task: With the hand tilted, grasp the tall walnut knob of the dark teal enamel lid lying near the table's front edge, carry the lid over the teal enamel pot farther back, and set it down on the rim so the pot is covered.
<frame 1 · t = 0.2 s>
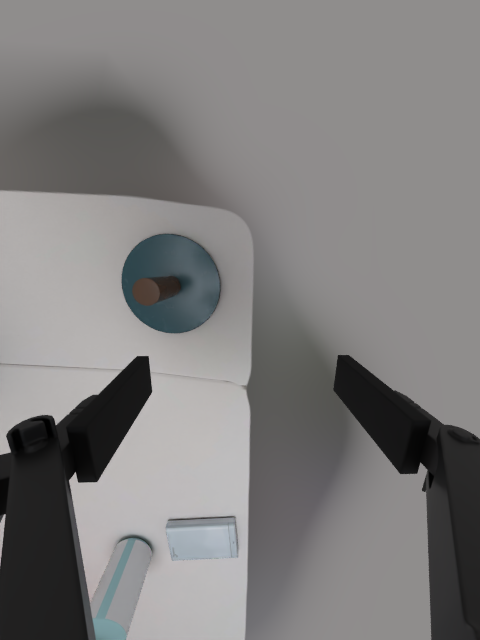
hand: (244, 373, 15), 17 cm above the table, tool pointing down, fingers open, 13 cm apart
can: (135, 547, 43), on the table
lid: (171, 285, 30), point 1 cm above the table
hard drive: (204, 532, 42), on the table
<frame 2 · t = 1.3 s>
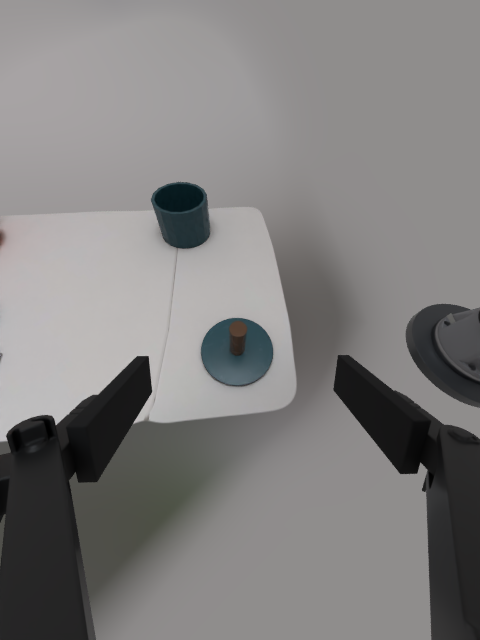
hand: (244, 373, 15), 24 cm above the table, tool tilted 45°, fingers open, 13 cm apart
lid: (237, 349, 41), point 1 cm above the table
pot: (186, 232, 59), on the table
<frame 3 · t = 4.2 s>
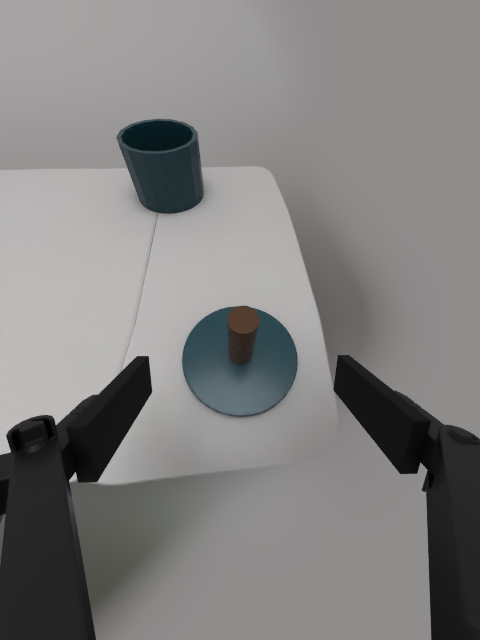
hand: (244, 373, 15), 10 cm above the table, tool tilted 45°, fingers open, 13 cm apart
lid: (240, 355, 26), point 1 cm above the table
pot: (171, 193, 43), on the table
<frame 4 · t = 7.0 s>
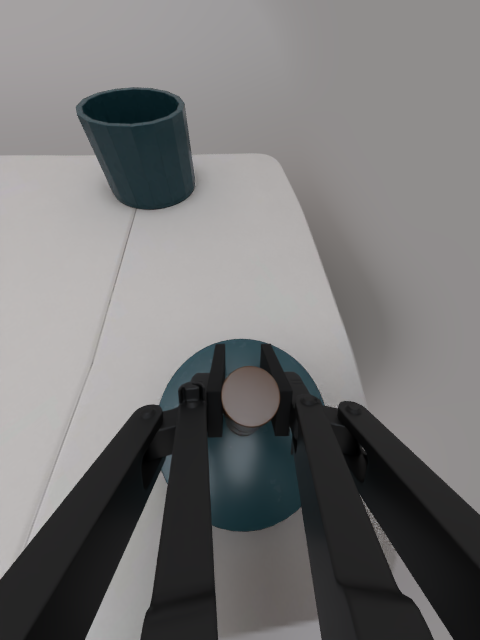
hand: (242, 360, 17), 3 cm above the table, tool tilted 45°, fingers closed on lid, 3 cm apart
lid: (242, 417, 18), point 1 cm above the table, touching gripper
pot: (155, 185, 35), on the table
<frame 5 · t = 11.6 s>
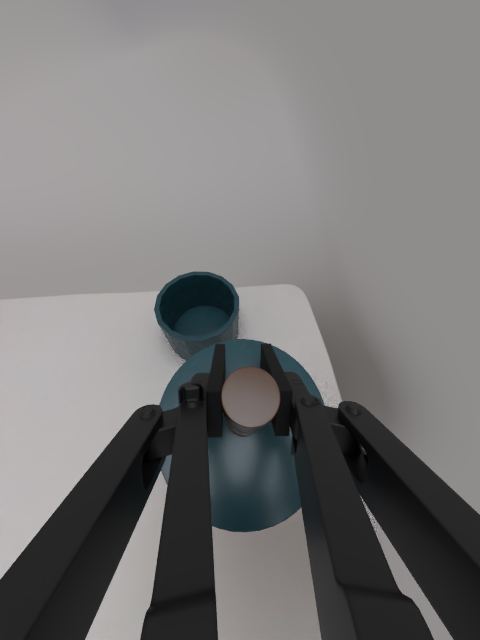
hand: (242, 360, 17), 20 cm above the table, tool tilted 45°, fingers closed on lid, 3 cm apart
lid: (242, 417, 18), point 18 cm above the table, touching gripper
pot: (204, 331, 41), on the table
when the fingers open (12 cm above the table, at t = 16.3 s): lid stays where it is, resting on pot.
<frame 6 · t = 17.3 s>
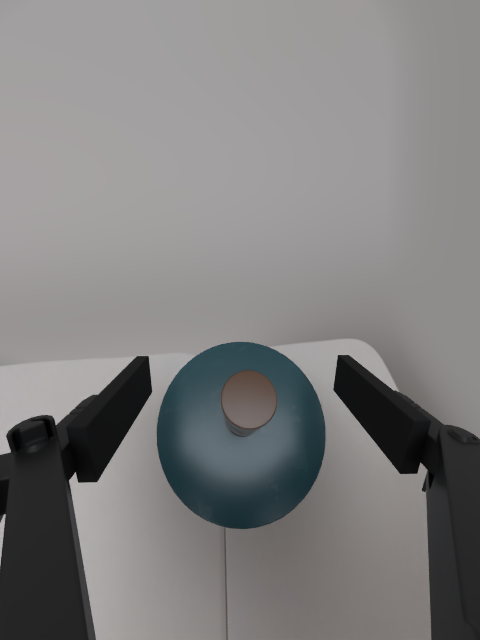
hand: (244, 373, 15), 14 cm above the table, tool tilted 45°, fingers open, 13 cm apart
lid: (241, 418, 18), point 9 cm above the table, touching pot
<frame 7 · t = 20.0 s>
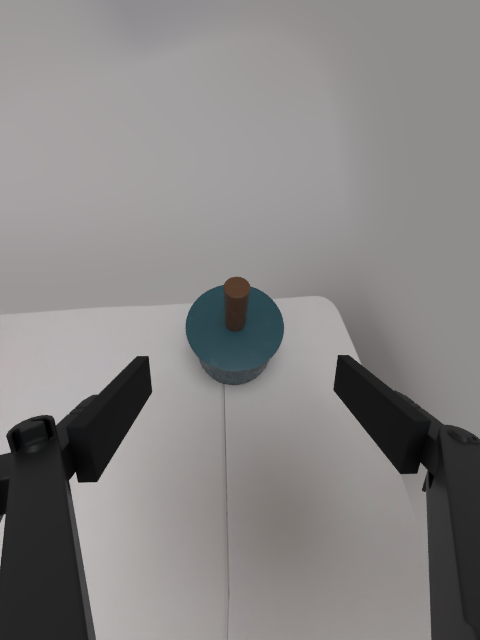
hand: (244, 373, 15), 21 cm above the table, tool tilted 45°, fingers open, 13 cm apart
lid: (235, 324, 31), point 9 cm above the table, touching pot
pot: (234, 349, 39), on the table
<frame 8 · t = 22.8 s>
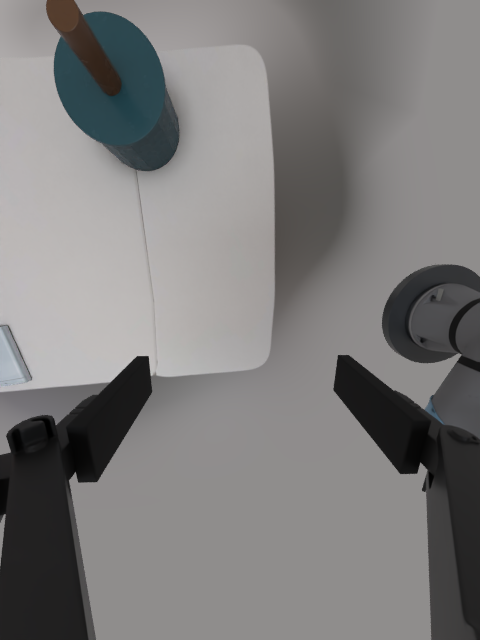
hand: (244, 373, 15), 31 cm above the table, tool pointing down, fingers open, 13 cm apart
lid: (112, 85, 28), point 9 cm above the table, touching pot
hard drive: (2, 355, 46), on the table
pot: (141, 129, 37), on the table
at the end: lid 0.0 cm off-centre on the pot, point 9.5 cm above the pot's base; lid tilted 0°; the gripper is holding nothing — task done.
